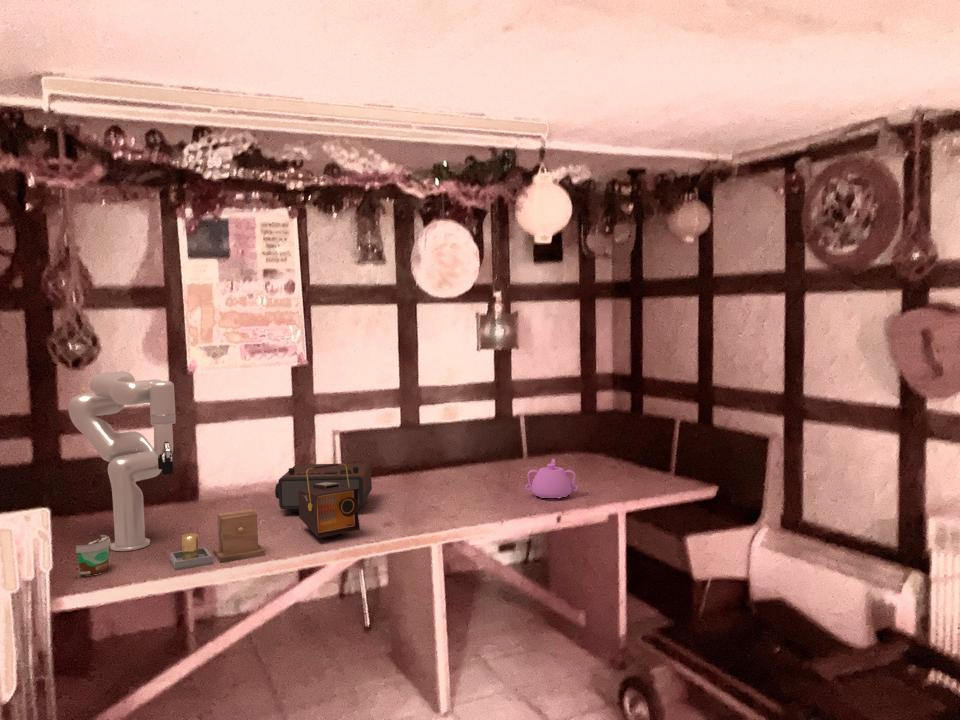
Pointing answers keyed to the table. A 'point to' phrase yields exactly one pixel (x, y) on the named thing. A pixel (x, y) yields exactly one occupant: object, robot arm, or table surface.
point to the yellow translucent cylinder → (190, 546)
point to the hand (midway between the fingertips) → (165, 471)
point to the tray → (182, 564)
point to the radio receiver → (335, 474)
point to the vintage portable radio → (329, 507)
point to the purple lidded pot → (551, 482)
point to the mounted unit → (237, 536)
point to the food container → (94, 556)
